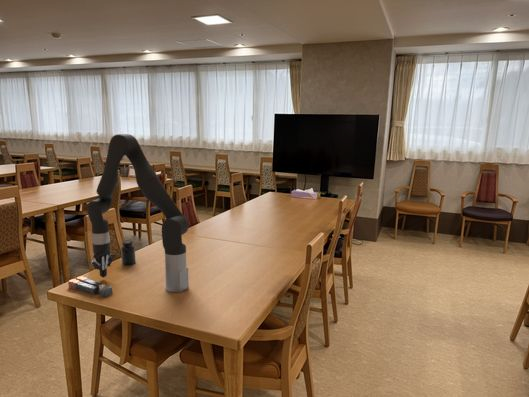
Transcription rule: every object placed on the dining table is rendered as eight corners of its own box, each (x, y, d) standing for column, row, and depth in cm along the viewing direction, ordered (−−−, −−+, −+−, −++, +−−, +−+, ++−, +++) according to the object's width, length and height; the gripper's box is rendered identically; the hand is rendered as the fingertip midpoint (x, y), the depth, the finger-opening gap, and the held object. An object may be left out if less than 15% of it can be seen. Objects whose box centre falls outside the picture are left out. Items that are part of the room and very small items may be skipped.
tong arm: (104, 290, 164) (104, 283, 164) (99, 292, 162) (99, 285, 161) (81, 282, 172) (80, 276, 171) (76, 284, 169) (75, 277, 169)
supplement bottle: (131, 259, 202) (130, 238, 199) (138, 262, 197) (137, 241, 195) (119, 263, 196) (118, 241, 194) (126, 266, 192) (125, 244, 190)
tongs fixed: (112, 293, 161) (112, 284, 161) (102, 298, 157) (101, 289, 156) (79, 283, 171) (78, 275, 170) (68, 287, 166) (68, 279, 165)
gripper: (94, 246, 164) (97, 283, 168) (118, 238, 176) (120, 273, 179) (83, 244, 168) (86, 280, 171) (107, 236, 179) (109, 270, 183)
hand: (103, 276), depth 175 cm, fingers closed
